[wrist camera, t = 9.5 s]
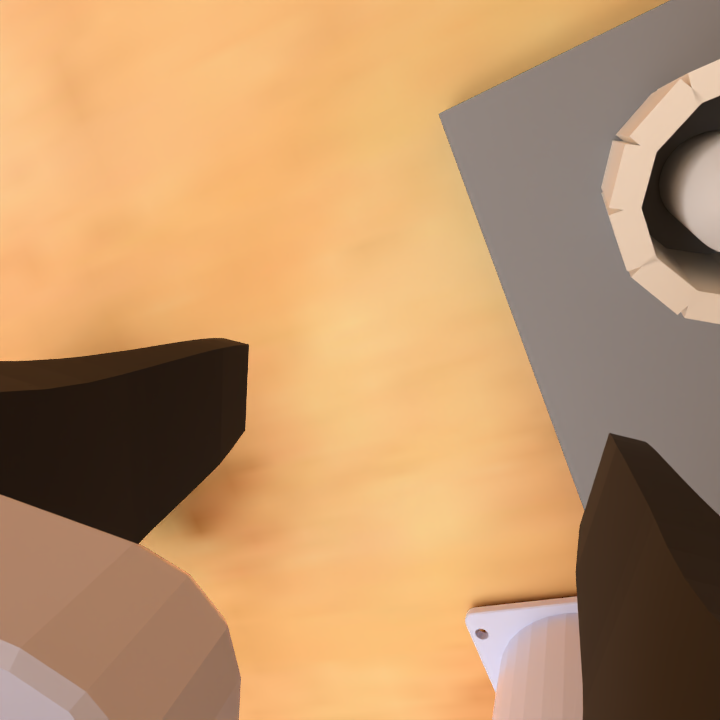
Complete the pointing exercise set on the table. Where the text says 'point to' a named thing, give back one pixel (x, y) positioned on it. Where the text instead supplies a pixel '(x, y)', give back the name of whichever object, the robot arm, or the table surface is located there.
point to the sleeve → (627, 191)
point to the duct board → (603, 239)
